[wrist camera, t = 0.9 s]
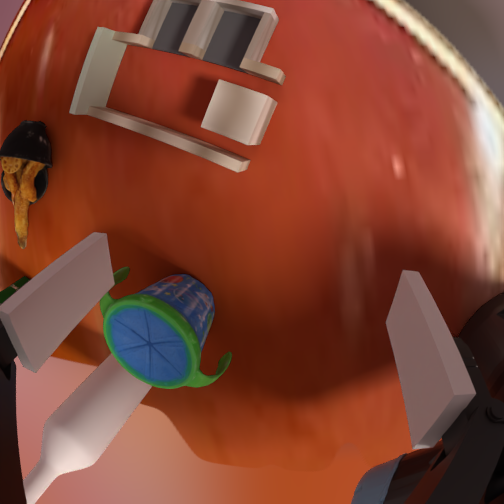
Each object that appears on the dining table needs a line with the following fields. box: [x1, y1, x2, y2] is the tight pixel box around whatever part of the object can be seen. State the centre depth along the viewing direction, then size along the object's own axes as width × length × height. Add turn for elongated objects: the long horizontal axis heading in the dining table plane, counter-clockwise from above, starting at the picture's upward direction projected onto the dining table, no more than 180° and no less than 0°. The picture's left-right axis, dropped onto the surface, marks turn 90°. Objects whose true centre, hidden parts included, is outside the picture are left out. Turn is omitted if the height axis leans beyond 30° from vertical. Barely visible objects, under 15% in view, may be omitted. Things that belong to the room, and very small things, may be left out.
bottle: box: [23, 353, 152, 504], centre depth 31 cm, size 8×8×30 cm
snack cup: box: [100, 267, 232, 389], centre depth 32 cm, size 16×10×10 cm
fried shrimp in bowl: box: [0, 120, 52, 249], centre depth 33 cm, size 9×11×18 cm
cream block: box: [201, 79, 277, 145], centre depth 26 cm, size 4×4×4 cm
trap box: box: [69, 0, 286, 172], centre depth 26 cm, size 20×16×5 cm
